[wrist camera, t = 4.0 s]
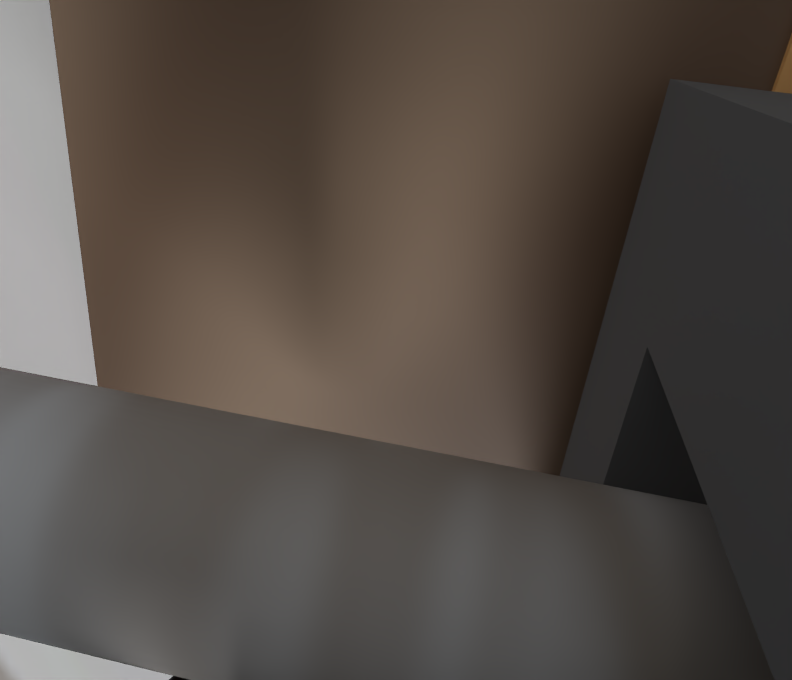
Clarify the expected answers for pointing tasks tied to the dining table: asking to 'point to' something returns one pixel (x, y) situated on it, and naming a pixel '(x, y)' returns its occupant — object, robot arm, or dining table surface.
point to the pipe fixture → (361, 344)
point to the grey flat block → (706, 340)
